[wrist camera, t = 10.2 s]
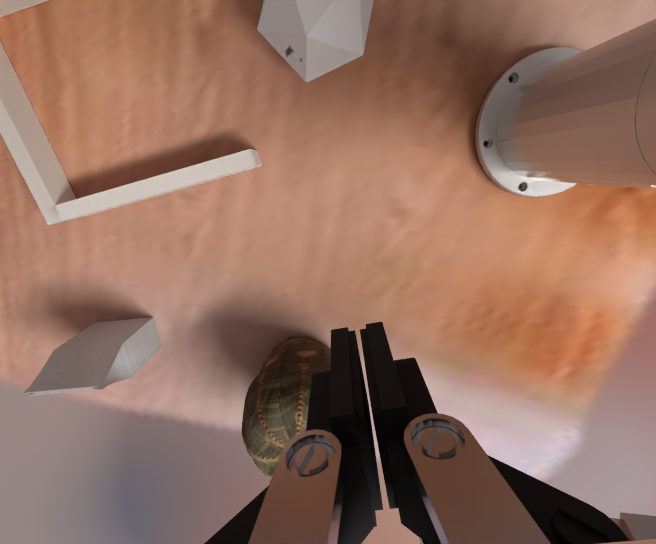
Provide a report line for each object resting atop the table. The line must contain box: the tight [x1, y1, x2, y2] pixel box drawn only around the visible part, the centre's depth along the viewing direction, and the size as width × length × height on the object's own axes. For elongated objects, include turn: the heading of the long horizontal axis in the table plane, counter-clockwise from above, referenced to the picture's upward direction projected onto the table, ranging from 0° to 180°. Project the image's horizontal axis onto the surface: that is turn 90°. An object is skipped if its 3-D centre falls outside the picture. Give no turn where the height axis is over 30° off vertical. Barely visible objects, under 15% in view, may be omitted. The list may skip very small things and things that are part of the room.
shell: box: [242, 337, 331, 477], centre depth 34 cm, size 11×11×12 cm
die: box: [257, 0, 374, 83], centre depth 25 cm, size 8×9×10 cm
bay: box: [0, 0, 262, 225], centre depth 29 cm, size 20×19×3 cm
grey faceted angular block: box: [24, 317, 162, 396], centre depth 33 cm, size 4×7×10 cm, turn 96°
